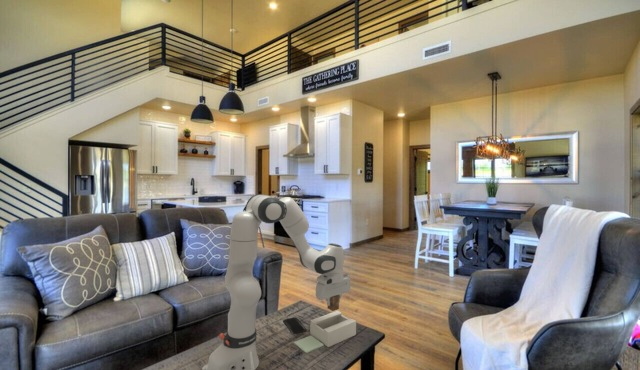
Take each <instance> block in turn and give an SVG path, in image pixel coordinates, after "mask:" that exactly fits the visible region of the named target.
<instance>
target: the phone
mask: <svg viewBox="0 0 640 370" xmlns="http://www.w3.org/2000/svg"><path fill="white" fill-rule="evenodd" d="M282 322H283V323H284V325H285V327H286V328H287V329H288V330H289V331H290V333H291V334H292V335H293V336H294V335H299V334H304V333H307V327H305V326H304V324H303V323H302V322H301V321H300V320H299V319H298V317H296V316H295V317H290V318H285V319H283V320H282Z"/></svg>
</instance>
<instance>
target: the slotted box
mask: <svg viewBox="0 0 640 370" xmlns="http://www.w3.org/2000/svg"><path fill="white" fill-rule="evenodd" d="M309 323H310V324H309V325H310V328H309V330H310V331H309V334H310V335H311V336H313V337H314V338H315V339H317V340H318V341H319V342H321V343H322V344H324V346H326V347H327V348H329V347H332V346H334V345H336V344H339V343H341V342H344V341H346V340H348V339H349V338H352V337H353V336H356V335H357V320H355V319H353V318H348V317H346V316H345V315H343V313H342V312H341V311H339V310H335V311H331V312H329V313H327V314H325V315H322V316H318V317H316V318H313V319H311V320H310V321H309Z"/></svg>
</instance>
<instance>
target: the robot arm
mask: <svg viewBox="0 0 640 370" xmlns="http://www.w3.org/2000/svg"><path fill="white" fill-rule="evenodd" d="M277 222H280V224H281V226H282V227H283V229H284V231H285V232H286V234H287V235H288V236H289V238H290V239H291V240H292V241H291V242H292V243H293V244H294V246H295V249H296V250H297V252H298V257H299V261H300V264H301V265H302V266H303V267H305V268H306V269H309V270H311V271H312V272H315V273H316V274H319V275H318V276H317V277H316V282H317V283H316V285H315V297H316V298H317V299H318V300H320V301H323V300H325V301H326V305H327V307H328V306H331V302H330V301H329V299H330V297H333V296H336V295H339V304H340V303H341V302H340V301H341V300H340V299H341V298H342V295H343V294H347V293H349V292H350V291H351V289H352V288H351V280H350V277H351V276H350V274H349V273H344V261H345V256H344V248H343V246H342V245H340V244H338V243H328V244H327V245H326V247H324V249H322V250H317V249H315V248H314V247H312V246H311V245H310V243H309V241H308V240H307V238H306V236H305V235H306V233H307V232H308V230H309V228H310V223H309V221H308V218H307V216H306V214H305V213H304V211H303V210H302V208H301V207H300V205H298V202H296V201H295V200H294V199H293V198H292V197H290V196H285V197H281V198H279V199H278V198H276V197H272V196H270V195H267V194H261V193H258V194H254V195H252V196H251V197H249V198H248V200H247V201H246V204H245V206H244V208H243V209H242V211H239V212H237V213H236V214H234V216H233V218H232V221H231V227H230V236H229V252H228V253H229V255H228V256H229V257H228V262H227V265H226V266H227V268H226V273H225V276H224V284H225V287H226V289H227V291H228V293H229V295H230V306H229V307H230V308H229V311H228V313H227V332H226V334H225V333H223V332H220V334H219V335H218V338H220V340H221V341H222V340H223V341H222V342H221V344H219V346H218V347H217V348H215V350H213V351H212V352H211V353H210V355H209V358H208V360H207V361H208V362H207V364H205V365H203V366H202V369H201V370H256V369H257V368H258V367H259V365H260V359H259V357H258V351H257V344H256V343H257V327H256V313H257V306H258V302H259V301H260V299H261V297H262V289H261V285H260V283H259V281H258V280H257V279H256V278H255V277H254V274H253V270H254V266H255V261H256V260H257V258H258V244H259V243H258V241H259V240H258V239H259V238H258V236H259V234H258V231H259V229H260V225H261V224H262V223H265V224H275V223H277Z"/></svg>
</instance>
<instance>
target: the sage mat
mask: <svg viewBox="0 0 640 370" xmlns="http://www.w3.org/2000/svg"><path fill="white" fill-rule="evenodd" d="M293 344H294V345H295V346H296V347H297V348H299V349H300V350H301V351H302V352H304V353H305V354H309V353H311V352H314V351H317V350H318V349H320V348H323V347H324V346H325V345H324V344H323V343H322V342H320V341H319V340H318V339H316V338H315V337H314V336H312V335H311V334H310V335H308V336H306V337H304V338H301V339H300V338H299V339H297V340H296V341H294V342H293Z"/></svg>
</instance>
